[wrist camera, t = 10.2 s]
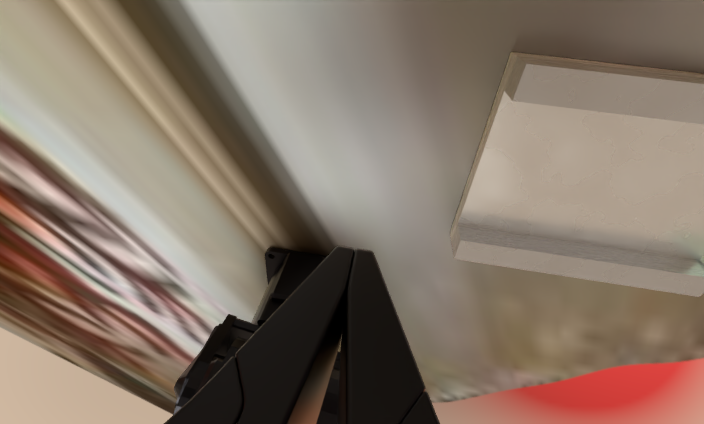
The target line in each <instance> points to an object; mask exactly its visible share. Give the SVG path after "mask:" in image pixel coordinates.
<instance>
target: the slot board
mask: <svg viewBox="0 0 704 424" xmlns="http://www.w3.org/2000/svg"><path fill="white" fill-rule="evenodd" d="M450 237H451V244H452V250H453V256H454V259H457V260H464V261H470V262H477V263H483V264H490V265H496V266H503V267H509V268H515V269H522V270H528V271H535V272H541V273H548V274H554V275H561V276H567V277H574V278H580V279H587V280H593V281H600V282H606V283H613V284H619V285H626V286H632V287H638V288H645V289H651V290H658V291H664V292H671V293H677V294H684V295H690V296H697V297H700V296H701V295H702V294H703V293H704V264H703V263H702V262H701V261H700V259H701V258H702V257H703V256H704V74H703V73H694V72H685V71H677V70H668V69H659V68H650V67H641V66H632V65H623V64H615V63H606V62H597V61H588V60H579V59H570V58H561V57H553V56H544V55H535V54H526V53H517V52H511V53H510V56H509V59H508V62H507V65H506V68H505V71H504V74H503V77H502V80H501V83H500V85H499V88H498V91H497V94H496V97H495V100H494V103H493V106H492V109H491V112H490V115H489V118H488V121H487V124H486V127H485V130H484V133H483V136H482V139H481V142H480V145H479V148H478V151H477V154H476V157H475V160H474V162H473V165H472V168H471V171H470V174H469V177H468V180H467V183H466V186H465V189H464V192H463V195H462V198H461V201H460V204H459V207H458V210H457V213H456V216H455V219H454V222H453V225H452V228H451V231H450Z"/></svg>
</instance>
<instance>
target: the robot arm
mask: <svg viewBox="0 0 704 424" xmlns="http://www.w3.org/2000/svg"><path fill="white" fill-rule="evenodd" d="M272 254H273V255H272ZM265 260H266V269H267V278H268V287H267V289H266V291H265V294H264V296H263V298H262V300H261V303H260V305H259V307H258V309H257V311H256V314H255V316H254V318H253V320H252V323H250V322H247V321H244V320H241V319H238V318H237V317H236V316H233V315H230V314H228V316H227V317H226V319H225V320H224V322H223V323H222V324H219V325H218V326H215V328H214V330H213V331H212V333H211V335H210V337H209V339H208V340H207V342H206V344H205V346H204V347H203V349H202V350H201V352H200V353H199V354H198V355H197V357H196V358H195V359H194V360H193V362H192V363H191V364H190V365H189V366H188V368H187V369H186V370H185V371H184V372H183V374H182V375H181V376H180V377H179V379H178V380H177V382H176V384H175V387H174V391H175V394H176V398H177V402H176V405H175V412H174V414H173V416H172V417H171V418H170V419H169V420H167V422H165V423H164V424H440V423H439V420H438V418H437V415H436V413H435V410H434V408H433V405H432V402H431V400H430V397H429V395H428V393H427V392H426V391H425V389H426V388H425V385H424V382H423V380H422V377H421V374H420V372H419V369H418V367H417V364H416V361H415V359H414V356H413V354H412V351H411V348H410V346H409V343H408V341H407V338H406V335H405V333H404V330H403V328H402V325H401V323H400V320H399V317H398V315H397V312H396V310H395V307H394V304H393V302H392V299H391V297H390V294H389V291H388V289H387V286H386V284H385V281H384V278H383V276H382V273H381V271H380V268H379V265H378V263H377V260H376V258H375V255H374V253H373V252H372V251H370V250H364V249H356V250H355V251H354V249H353V248H351V247H345V246H337V247H336V248H335V249H334V250H333V251H332V252H331V253H330V254H329V255H328V256H321V255H315V254H309V253H302V252H296V251H290V250H283V249H277V248H269V249H268V250H267V251H266V253H265ZM341 336H342V339H341ZM340 341H341V352H338V349H339V345H340Z"/></svg>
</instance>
